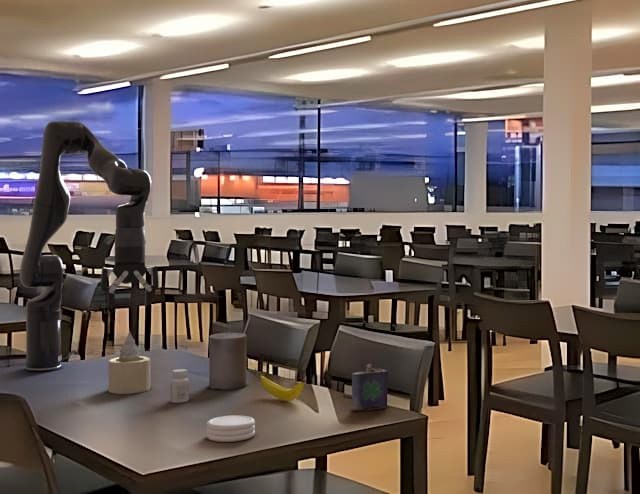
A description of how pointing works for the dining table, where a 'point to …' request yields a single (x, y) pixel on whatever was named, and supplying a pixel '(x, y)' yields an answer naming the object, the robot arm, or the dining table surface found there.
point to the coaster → (230, 428)
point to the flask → (369, 389)
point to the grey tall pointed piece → (129, 350)
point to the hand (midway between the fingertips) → (129, 306)
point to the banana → (282, 389)
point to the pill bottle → (179, 386)
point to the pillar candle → (227, 361)
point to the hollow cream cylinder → (129, 376)
